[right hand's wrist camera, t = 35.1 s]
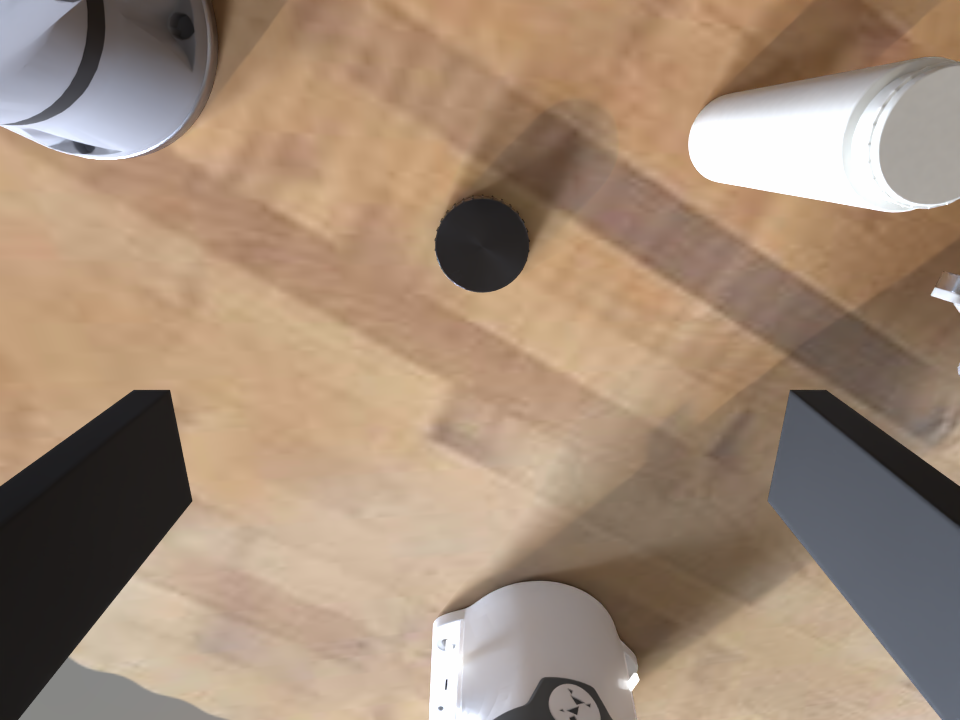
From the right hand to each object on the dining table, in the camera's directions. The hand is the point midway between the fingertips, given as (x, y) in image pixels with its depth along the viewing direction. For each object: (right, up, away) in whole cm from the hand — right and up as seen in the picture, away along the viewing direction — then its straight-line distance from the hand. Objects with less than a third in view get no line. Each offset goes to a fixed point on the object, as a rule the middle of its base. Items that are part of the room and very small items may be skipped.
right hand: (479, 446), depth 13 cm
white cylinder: (+16, +16, +25) cm, 34 cm away
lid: (0, +9, +26) cm, 28 cm away
